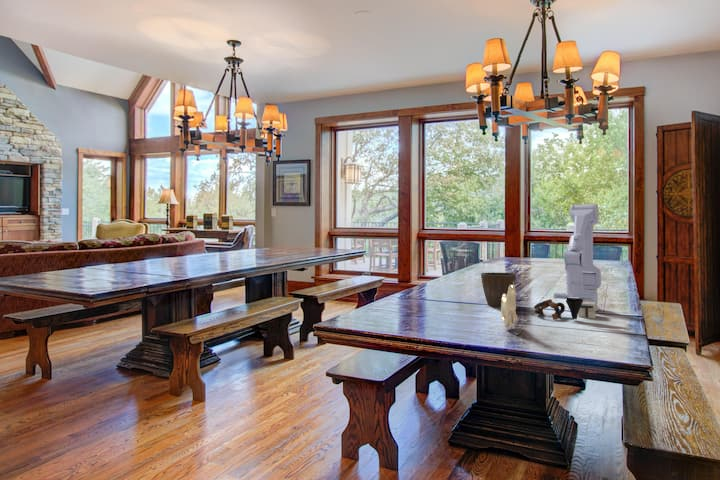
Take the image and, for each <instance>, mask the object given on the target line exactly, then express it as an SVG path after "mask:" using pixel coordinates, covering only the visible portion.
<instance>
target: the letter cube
mask: <svg viewBox="0 0 720 480" xmlns="http://www.w3.org/2000/svg"><path fill="white" fill-rule="evenodd" d="M577 318H585V319H586V318H587V319H596V311H595V302H583V303H582V305H581V307H580V309H579V312H578V316H577Z"/></svg>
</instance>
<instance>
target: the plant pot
mask: <svg viewBox="0 0 720 480" xmlns="http://www.w3.org/2000/svg"><path fill="white" fill-rule="evenodd" d="M480 276H481V279H480V280H481V283H482V289H483V293H484V298H485V300H486V303H487V306H488V307H490V306H491V307H493V308H500V309H501V302H502V301H501V299H502V296H503V294H506V295H507V293H508V288H509V285H513V281H514V285H515V284H516V279H517V273H512V272H481V273H480ZM491 307H490V308H491Z"/></svg>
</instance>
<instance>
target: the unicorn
mask: <svg viewBox="0 0 720 480" xmlns="http://www.w3.org/2000/svg"><path fill="white" fill-rule="evenodd" d="M516 286H517V285H516V283H515V285H514V281H513V285H509V288H508V293H507V295H506V294H503V296H502V299H501V301H502V302H501V308H500V312H501V318H502V320H503V322H504V325H503V327H504V328H505V329H506V328H512V327H513V328H515V327H516V326H517V324H518V315H517V312H516V310H517V297H516V295H517V289H516ZM512 319H513V320H512Z"/></svg>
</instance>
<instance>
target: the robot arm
mask: <svg viewBox="0 0 720 480" xmlns="http://www.w3.org/2000/svg"><path fill="white" fill-rule="evenodd" d="M599 212H600V211H599V205H598V204H597V203H594V204H592V203H590V204H587V203H586V204H572V205H570V210H569V215H570V216H569V217H570V219H571V221H572V222H573V223H574V225H573V234H572V235H571V236H570V237H569V242H568V248H567V252H564V259H563V260H564V269H565V271H566V274H565V275H566V278H565V279H566V281H565V282H566V285H565V286H566V289H565V293H564V292H559V293H558V292H554V293H553V299H564V300H565V302H566V304H567V306H568V309H569V312H570V314H571V319H572V320H577V319H578V312H579V309H580V307H581V305H582V303H583V302H595V312H597V311H599V310H601V307H599V304H598V303H599V302H598V299H599V298H598V297H599V296H598V289H599V288H601V286H602V274H601V273H602V271H601V269H600V268H599V267H598V266H596V265H595V264H594V226H595V225H597V224H599V222H600V221H599V220H600V219H599V218H600V217H599V214H600V213H599Z"/></svg>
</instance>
